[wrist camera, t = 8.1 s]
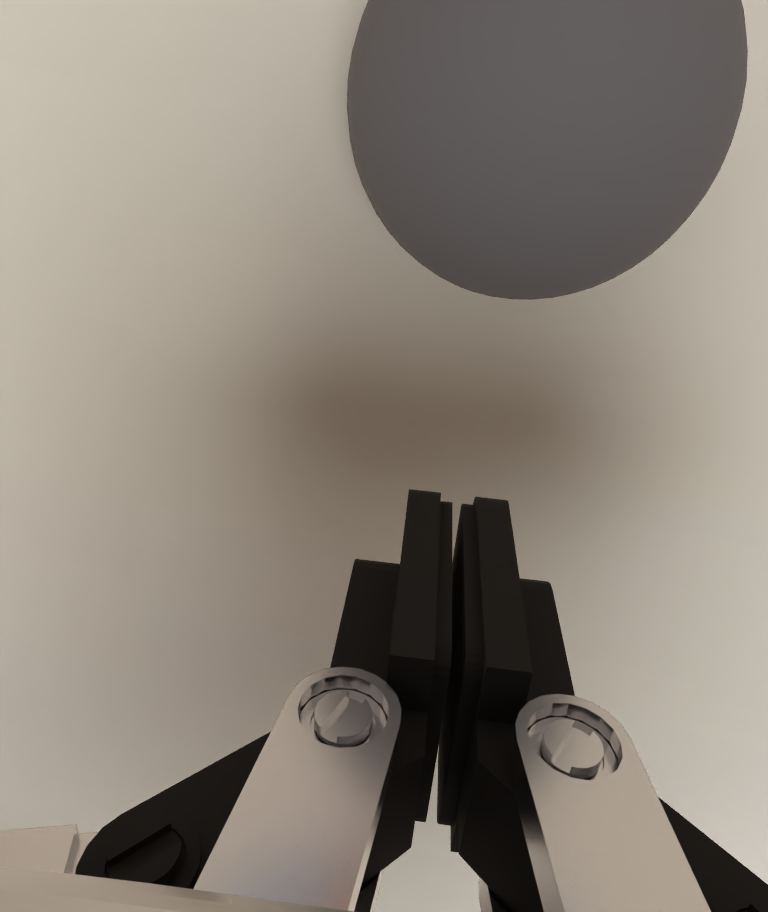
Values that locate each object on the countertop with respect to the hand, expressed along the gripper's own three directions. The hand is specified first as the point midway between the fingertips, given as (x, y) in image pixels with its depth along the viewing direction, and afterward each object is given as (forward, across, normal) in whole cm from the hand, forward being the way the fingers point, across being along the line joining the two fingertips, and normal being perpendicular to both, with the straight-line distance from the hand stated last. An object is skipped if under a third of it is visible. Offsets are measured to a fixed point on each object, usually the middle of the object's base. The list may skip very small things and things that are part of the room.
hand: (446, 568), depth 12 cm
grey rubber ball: (+2, 0, -7) cm, 7 cm away
